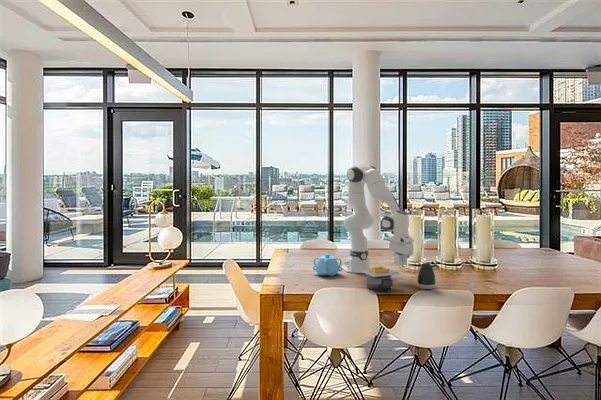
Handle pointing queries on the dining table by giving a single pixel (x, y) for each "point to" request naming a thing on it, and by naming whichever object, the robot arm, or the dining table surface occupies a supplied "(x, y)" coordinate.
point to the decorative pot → (327, 265)
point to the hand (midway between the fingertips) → (400, 260)
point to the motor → (379, 280)
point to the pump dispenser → (426, 276)
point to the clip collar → (378, 269)
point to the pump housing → (399, 259)
